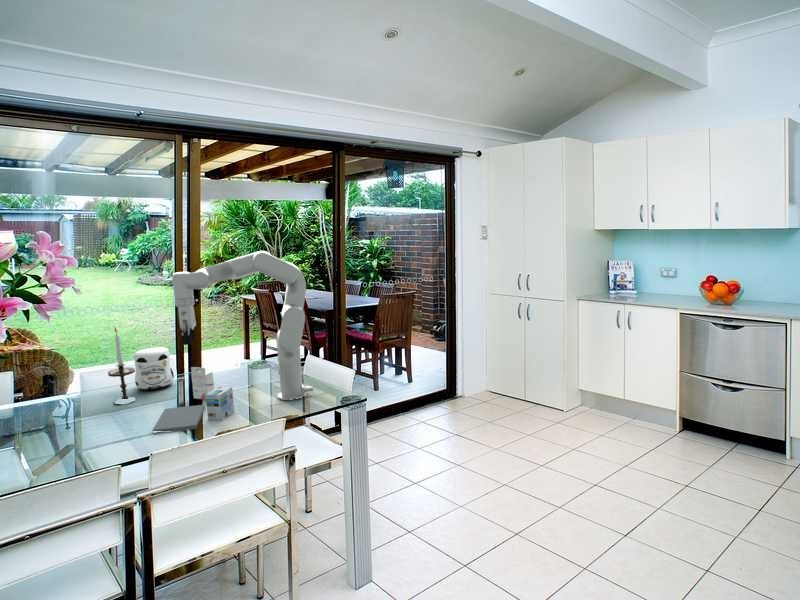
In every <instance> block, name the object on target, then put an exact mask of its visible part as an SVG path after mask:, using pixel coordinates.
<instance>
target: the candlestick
mask: <svg viewBox="0 0 800 600" xmlns="http://www.w3.org/2000/svg"><path fill="white" fill-rule="evenodd" d="M113 328H114V331H115V336H114V343H115V349H116V355H117V356H116V357H117V365H115V367H118V368H115V369H112V370H110V371H108V372H107V374H108V377H113V378H114V377H118V378H119V377H120V385H119V387H120V389H121V390H120V392H121V393H122V397H121V398H122V399H128V398H129V396H128V395H127V392H128V390H127V387H128V384H126V383H125V377H126V376H129V375H131V374H134V373H136V367H135V368H134V367H128V366H127V367H125V366H126V364H125V363H124V361H123V354H122V345H121V339H120V335H119V334H118V330H117V328H116V326H115V325H114V327H113Z"/></svg>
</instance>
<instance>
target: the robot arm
mask: <svg viewBox="0 0 800 600" xmlns="http://www.w3.org/2000/svg"><path fill="white" fill-rule="evenodd" d="M257 273H258V274H259V273H261V274H263V275H265V276H267V277H270V278H271V279H274V280H276V281H278V282H280V283H282V284H285V288H286V289H285V295H284V296H285V297H284V302H283V306H282V309H281V324H280V328H279V330H278V331H277V334H276V340H275V341H276V348H277V358H278V372H279V383H280V393H278V394H277V398H279V399H278V400H280V399H281V401H284V400H290V399H296V398H299V397H302V396H304V395H305V394H306V395H307V392H313V391H314V387H313V386H310V385H307V386H305V385H304V384H303V379H302V378H303V376H302V363H301V361H302V360H301V351H300V346H301V342H302V339H303V338H302V337H303V332H304V327H305V322H306V315H305V311H304V306H305V302H306V301H305V300H306V294H307V283H306V279H305V275H304V274H303V272H302V270H300V268H299V267H298V266H297V265H295V264H294V263H293V262H290V261H284V260H282V259H281V258H278V257H276V256H274V255H272V254H270V253H269V252H268V251H265V250H259V251H255V252H252V253H249V254H246V255H242V256H239V257H235V258H233V259H229V260H226V261H224V262H220V263H217V264H216V263H215V264H213V265H210V266H207V267H202V268H199V269H198V270H196V271H193V272H189V271H178V272H174V273H172V276H171V281H172V288H173V296H174V304H175V305H174V306H175V308H177V307H178V308H177V309H178V320H179V328H180V330H181V338H182V345H183V346H186V345H187V346H188V345H191V344H192V340H195V339H196V332H195V327H196V326H197V322H196V315H195V314H196V313H195V308H194V305H196V303H195V296H194V295H195V294H194V290H204V289H207V288H208V287H210V285H214V284H216V283H219V282H223V281H226V280H237V279H238V280H239V279H242V278H245V277H249V276H252V275H254V274H255V275H256V274H257Z"/></svg>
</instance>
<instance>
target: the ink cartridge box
mask: <svg viewBox="0 0 800 600" xmlns="http://www.w3.org/2000/svg"><path fill="white" fill-rule="evenodd" d="M190 370H191V371H190V372H191V383H192V384H191V385H192V392H193V393H192V394H193V399H197V400H206V397H205V395H206V394H207V393H209V392H211V391H212V390H214V389H215V382H214V375H213V373H214V372H213V371H206V368H205V367H197V366H191V367H190Z"/></svg>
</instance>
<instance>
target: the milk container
mask: <svg viewBox="0 0 800 600" xmlns="http://www.w3.org/2000/svg"><path fill="white" fill-rule="evenodd" d="M133 356H134V357H133V360H134V365H135V375H134V383H135V386H136V387H137V389H139V390H143V391H152V390H153V391H154V389H155V390H160V389H164V388H166V387H169V386H170V385H172V384H173V383H174V377H175V376H174V371H173V369H172V365H171V357H170V352H169V348H167V347H150V348H142V349H140V350H137V351H135V352H134V354H133Z"/></svg>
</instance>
